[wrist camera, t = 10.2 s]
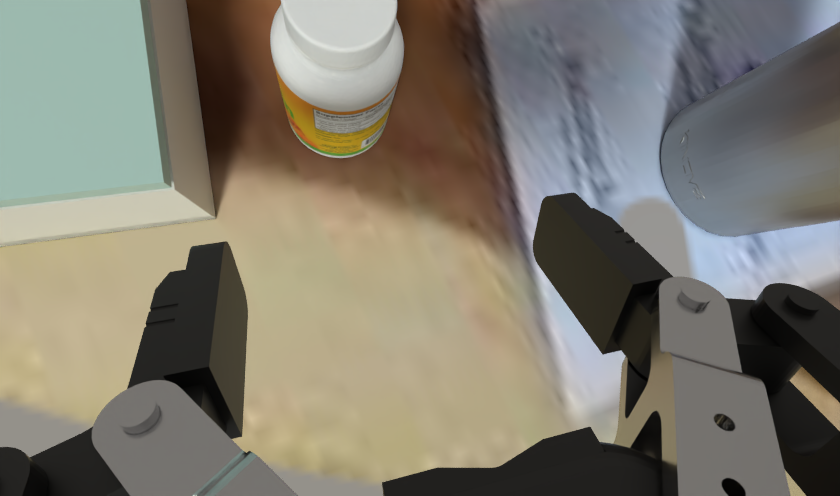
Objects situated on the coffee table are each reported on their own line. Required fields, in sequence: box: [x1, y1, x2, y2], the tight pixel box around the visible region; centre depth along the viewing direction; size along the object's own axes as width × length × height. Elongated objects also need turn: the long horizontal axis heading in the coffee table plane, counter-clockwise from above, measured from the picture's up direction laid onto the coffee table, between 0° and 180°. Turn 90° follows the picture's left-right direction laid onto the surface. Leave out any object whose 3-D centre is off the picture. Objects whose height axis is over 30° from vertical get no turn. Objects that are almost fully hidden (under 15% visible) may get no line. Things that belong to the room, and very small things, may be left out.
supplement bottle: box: [270, 0, 404, 158], centre depth 20 cm, size 5×5×10 cm
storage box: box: [0, 0, 216, 247], centre depth 19 cm, size 12×12×6 cm
